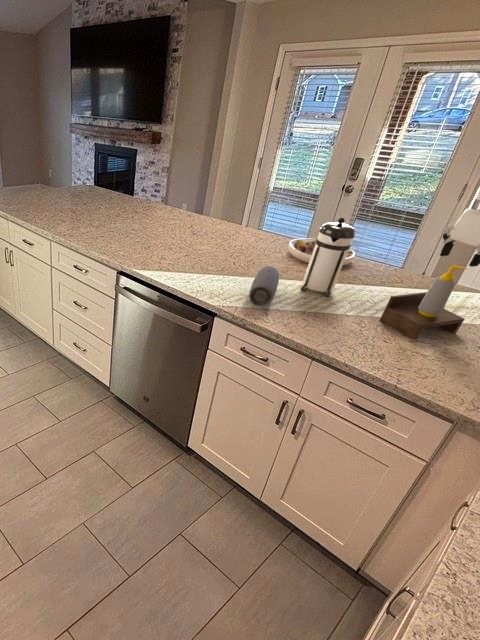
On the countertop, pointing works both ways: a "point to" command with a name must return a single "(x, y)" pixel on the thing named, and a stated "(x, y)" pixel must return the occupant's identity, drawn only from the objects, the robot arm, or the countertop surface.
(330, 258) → the coffee press
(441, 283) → the soap bottle
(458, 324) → the shelf
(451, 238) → the robot arm
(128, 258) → the countertop surface
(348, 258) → the bowl
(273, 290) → the bluetooth speaker
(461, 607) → the countertop surface
